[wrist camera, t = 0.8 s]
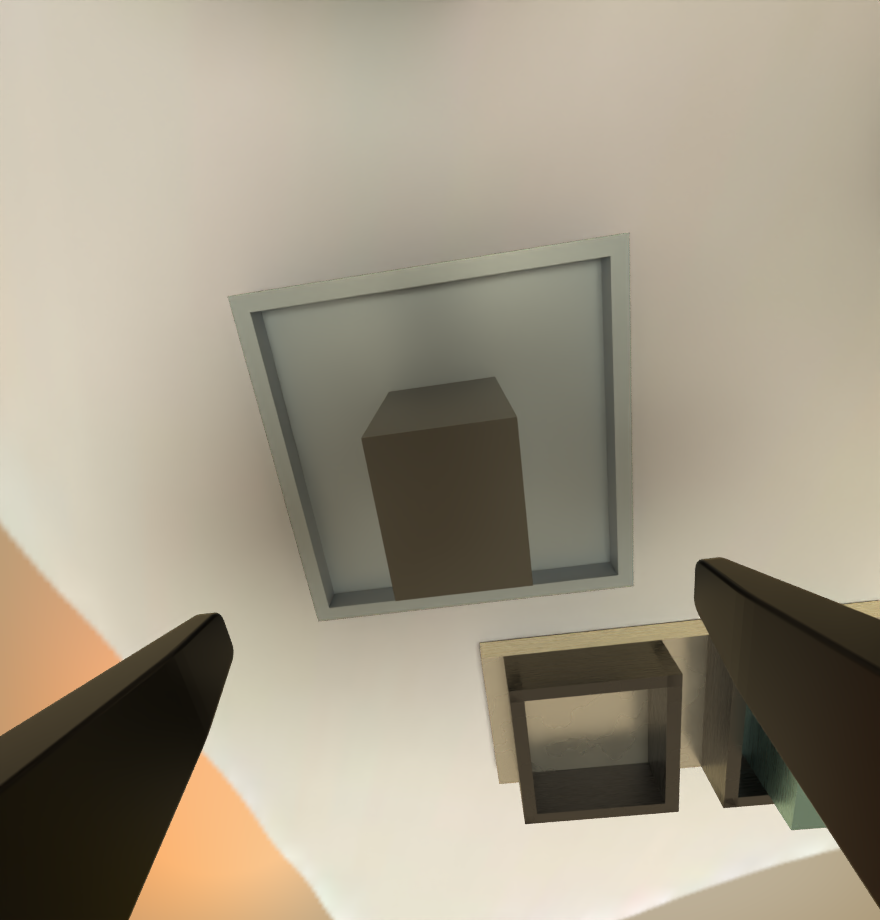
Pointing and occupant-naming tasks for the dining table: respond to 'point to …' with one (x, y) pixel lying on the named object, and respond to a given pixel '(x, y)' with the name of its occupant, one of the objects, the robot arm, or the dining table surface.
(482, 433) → the block
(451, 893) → the dining table surface
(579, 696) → the double socket holder
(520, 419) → the tray
